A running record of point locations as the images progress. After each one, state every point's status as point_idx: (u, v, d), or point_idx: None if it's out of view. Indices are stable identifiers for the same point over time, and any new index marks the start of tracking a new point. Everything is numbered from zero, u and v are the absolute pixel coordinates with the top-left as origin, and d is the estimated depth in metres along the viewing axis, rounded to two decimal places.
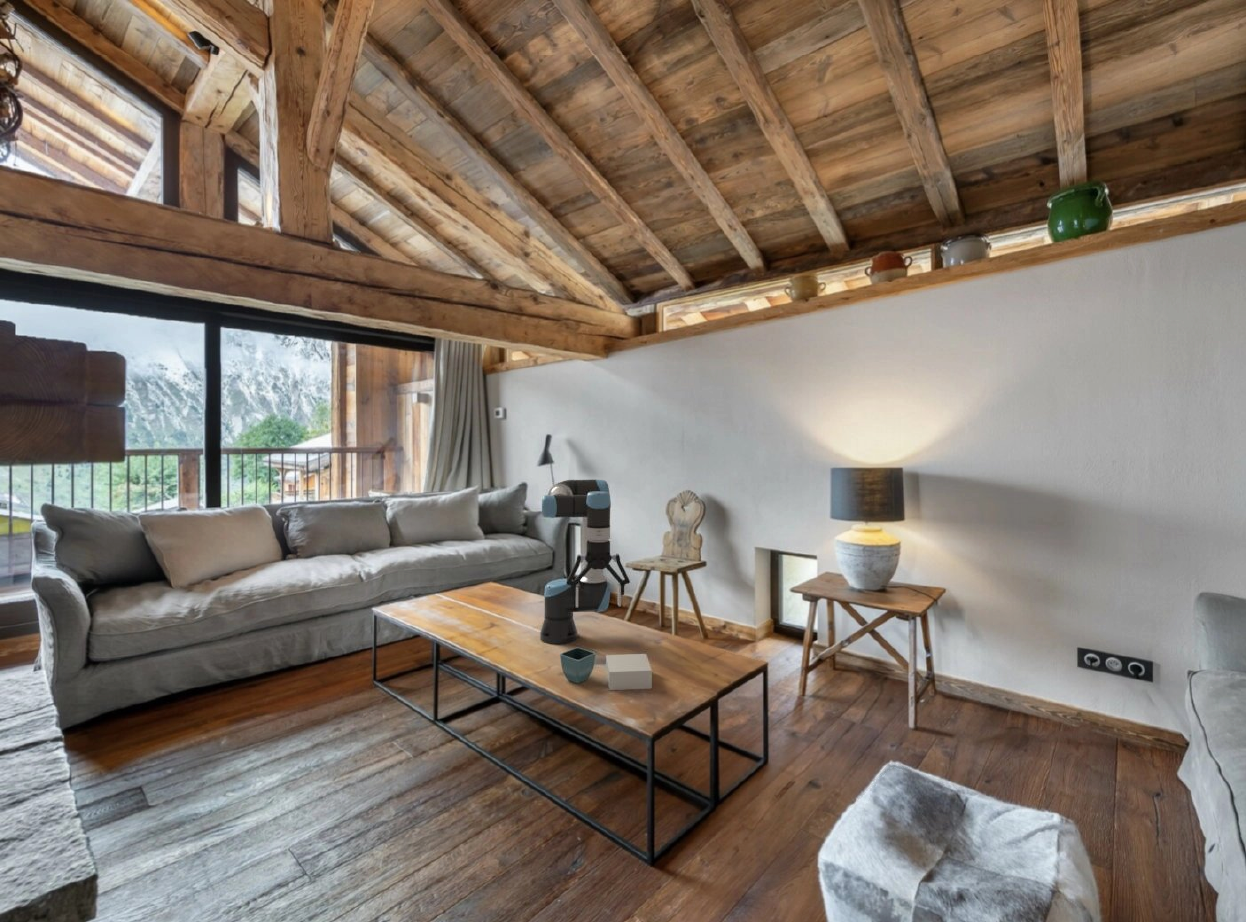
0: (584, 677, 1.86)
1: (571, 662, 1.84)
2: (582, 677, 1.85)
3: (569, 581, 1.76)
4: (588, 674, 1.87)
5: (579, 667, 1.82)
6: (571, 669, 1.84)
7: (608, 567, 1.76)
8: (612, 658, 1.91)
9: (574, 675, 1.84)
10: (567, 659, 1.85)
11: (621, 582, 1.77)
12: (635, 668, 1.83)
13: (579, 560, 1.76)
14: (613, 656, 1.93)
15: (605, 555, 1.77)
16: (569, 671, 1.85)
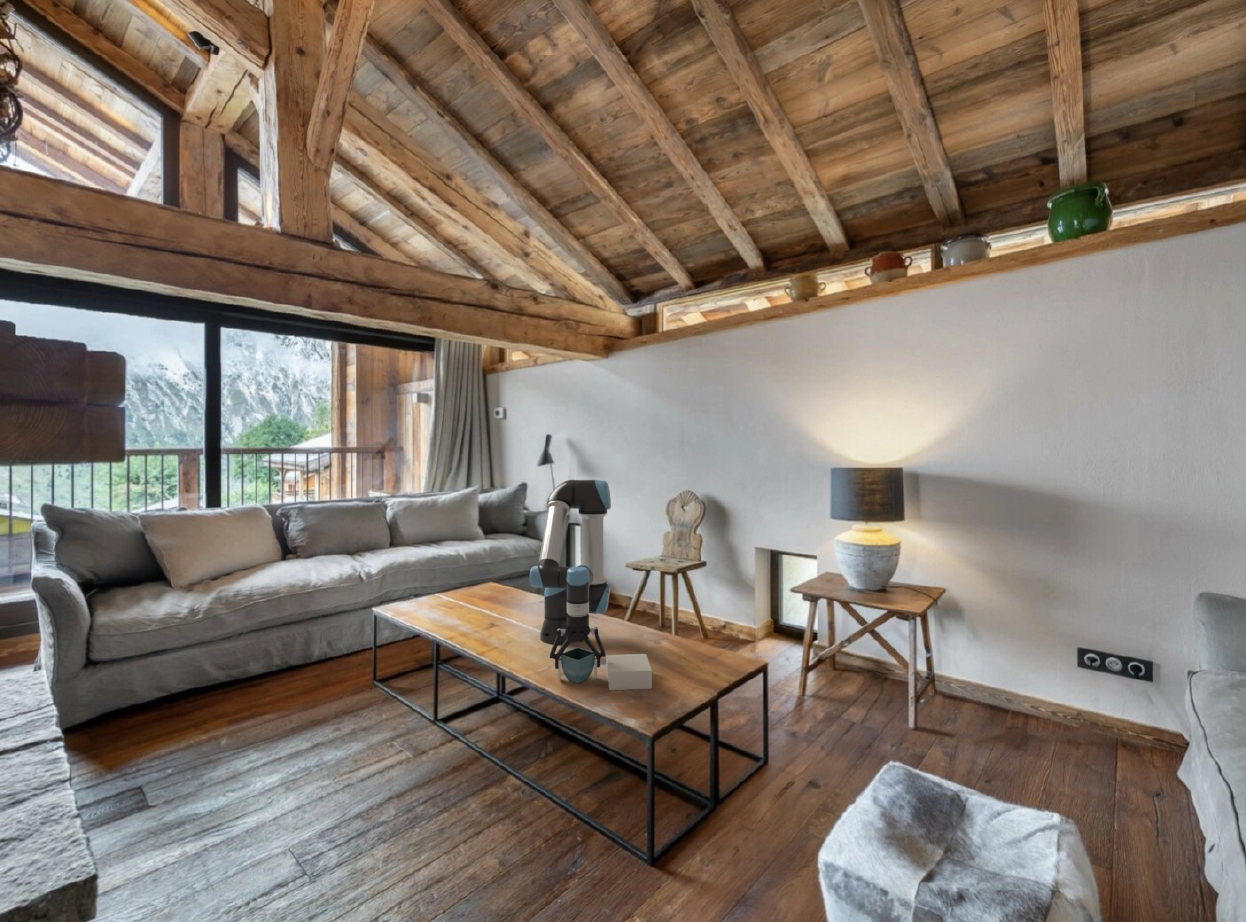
0: (584, 677, 1.86)
1: (571, 662, 1.84)
2: (582, 677, 1.85)
3: (552, 655, 1.85)
4: (588, 674, 1.87)
5: (579, 667, 1.82)
6: (571, 669, 1.84)
7: (586, 640, 1.86)
8: (612, 658, 1.91)
9: (574, 675, 1.84)
10: (567, 659, 1.85)
11: (597, 655, 1.87)
12: (635, 668, 1.83)
13: (559, 634, 1.85)
14: (613, 656, 1.93)
15: (584, 628, 1.86)
16: (569, 671, 1.85)
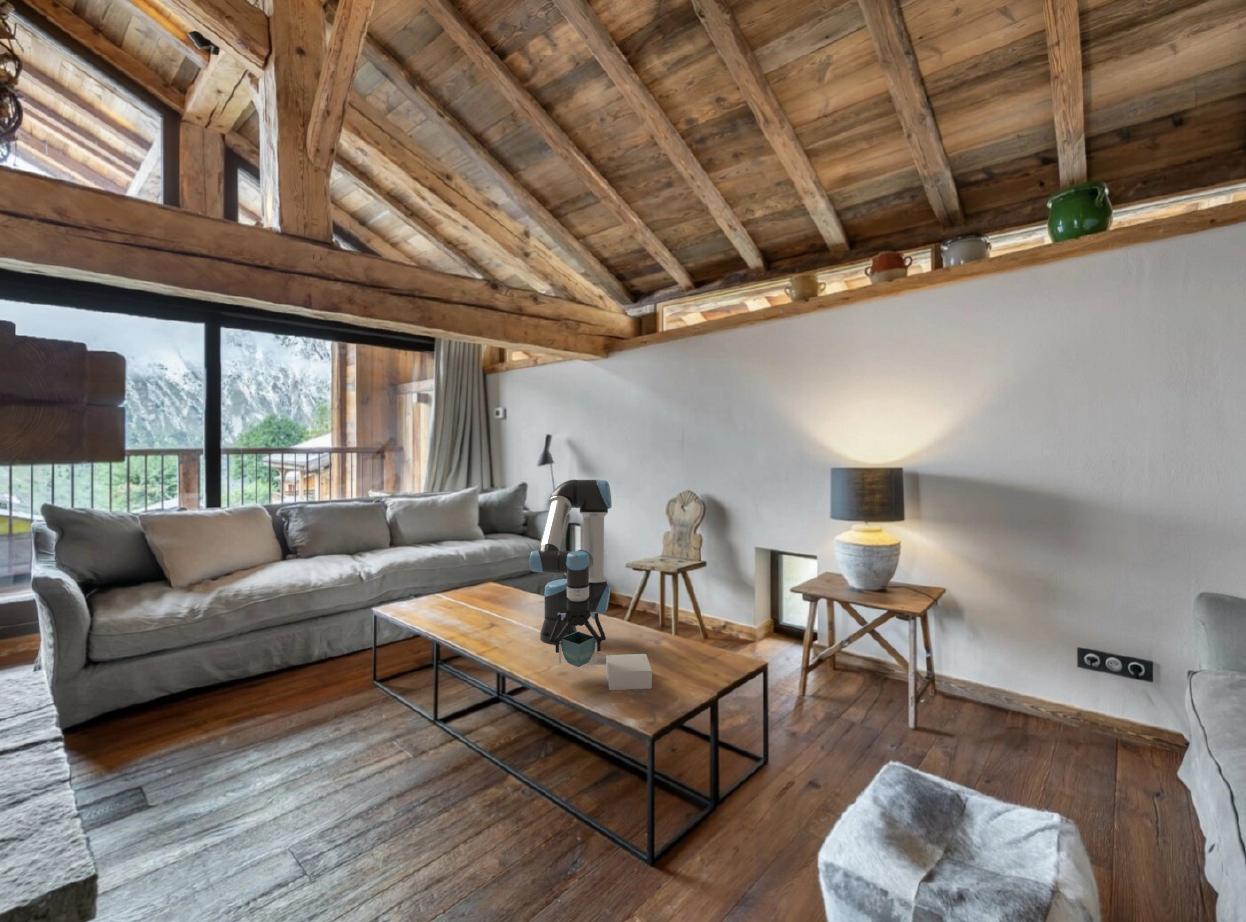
0: (585, 661, 1.86)
1: (572, 646, 1.84)
2: (583, 661, 1.85)
3: (552, 639, 1.86)
4: (589, 658, 1.87)
5: (580, 651, 1.83)
6: (572, 653, 1.84)
7: (586, 624, 1.86)
8: (612, 658, 1.91)
9: (574, 659, 1.84)
10: (567, 643, 1.85)
11: (597, 639, 1.87)
12: (635, 668, 1.83)
13: (560, 618, 1.85)
14: (613, 656, 1.93)
15: (584, 612, 1.86)
16: (570, 655, 1.85)
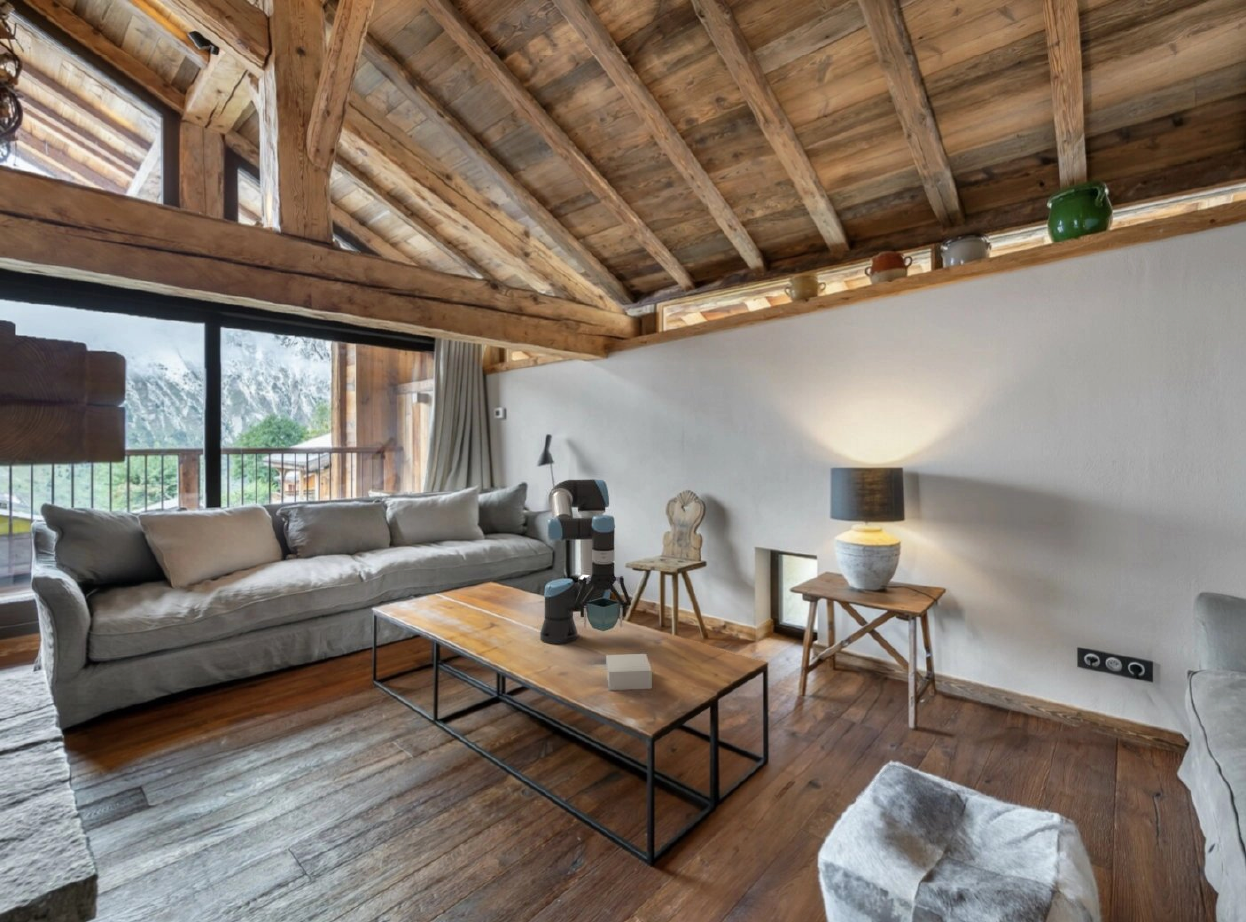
0: (610, 625, 1.84)
1: (596, 609, 1.82)
2: (608, 625, 1.83)
3: (577, 602, 1.85)
4: (614, 623, 1.85)
5: (605, 615, 1.81)
6: (596, 617, 1.83)
7: (612, 588, 1.85)
8: (612, 658, 1.91)
9: (599, 623, 1.82)
10: (592, 607, 1.84)
11: (623, 604, 1.85)
12: (635, 668, 1.83)
13: (585, 582, 1.84)
14: (613, 656, 1.93)
15: (610, 576, 1.85)
16: (594, 619, 1.84)
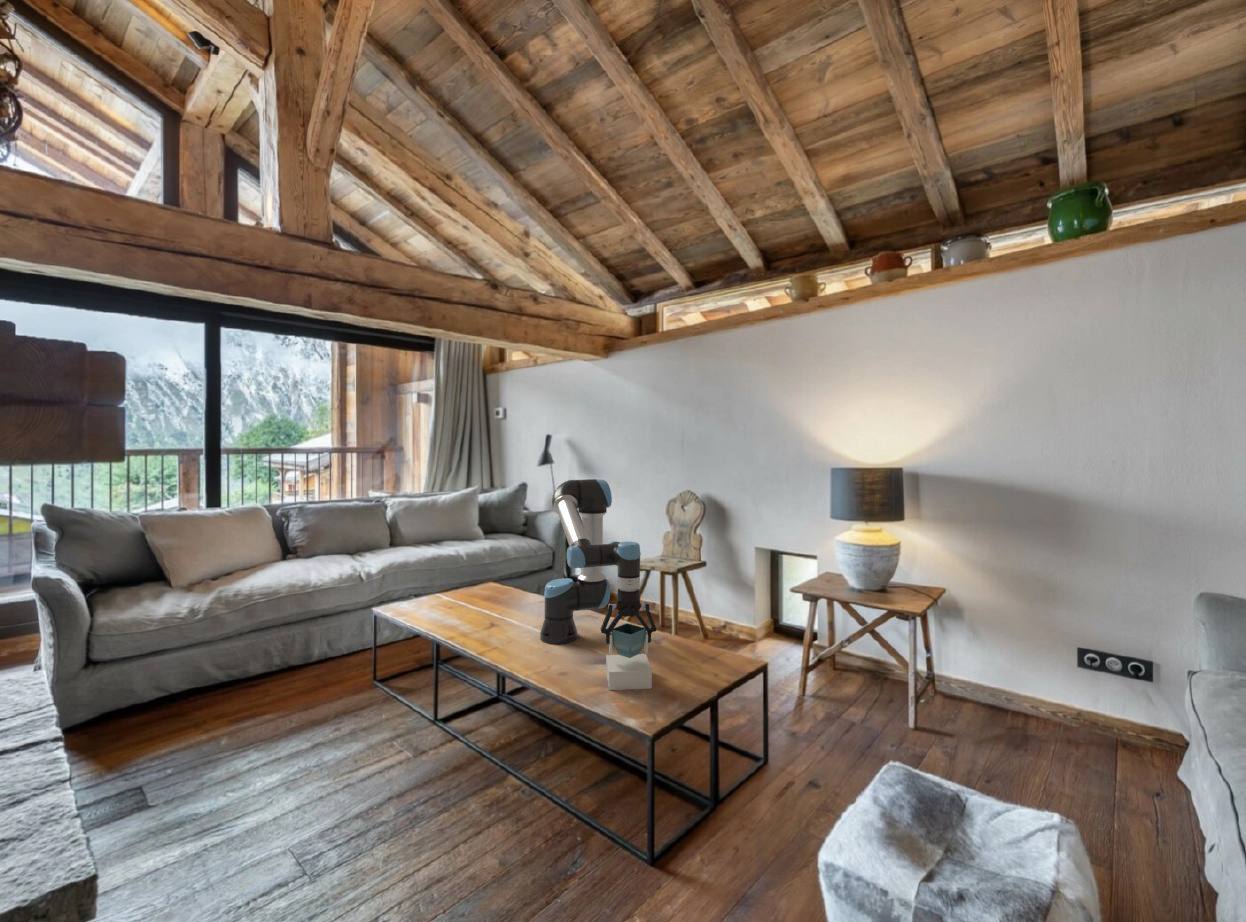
0: (636, 652, 1.85)
1: (623, 637, 1.83)
2: (634, 652, 1.84)
3: (603, 630, 1.85)
4: (639, 649, 1.86)
5: (632, 642, 1.82)
6: (623, 644, 1.83)
7: (637, 615, 1.85)
8: (612, 658, 1.91)
9: (626, 650, 1.83)
10: (619, 634, 1.84)
11: (648, 630, 1.86)
12: (635, 668, 1.83)
13: (611, 609, 1.85)
14: (613, 656, 1.93)
15: (635, 603, 1.86)
16: (621, 646, 1.84)
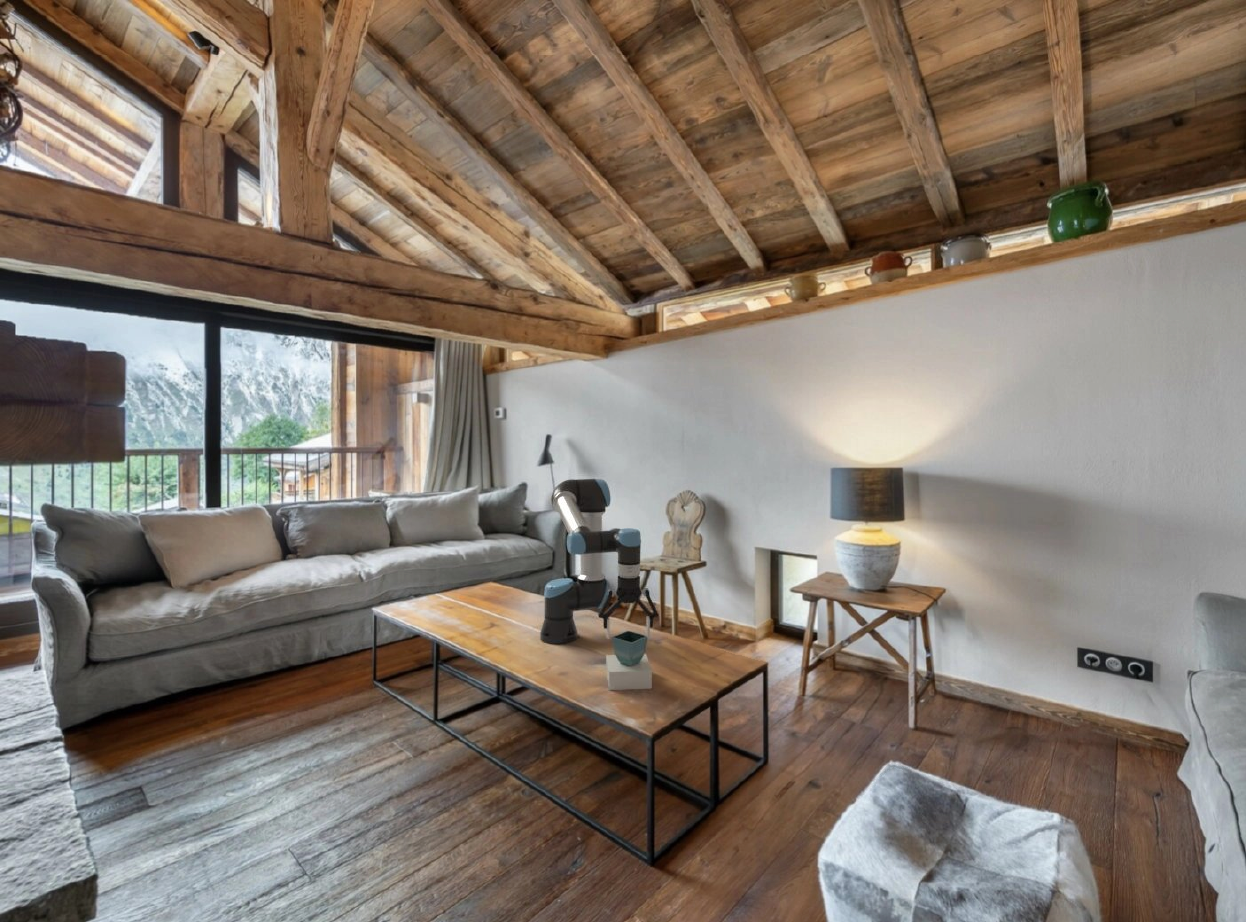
0: (637, 660, 1.85)
1: (624, 645, 1.83)
2: (635, 660, 1.84)
3: (601, 614, 1.85)
4: (640, 657, 1.87)
5: (633, 650, 1.82)
6: (624, 652, 1.84)
7: (638, 601, 1.85)
8: (612, 658, 1.91)
9: (627, 658, 1.83)
10: (620, 642, 1.84)
11: (650, 615, 1.87)
12: (635, 668, 1.83)
13: (611, 594, 1.85)
14: (613, 656, 1.93)
15: (635, 590, 1.86)
16: (622, 654, 1.84)
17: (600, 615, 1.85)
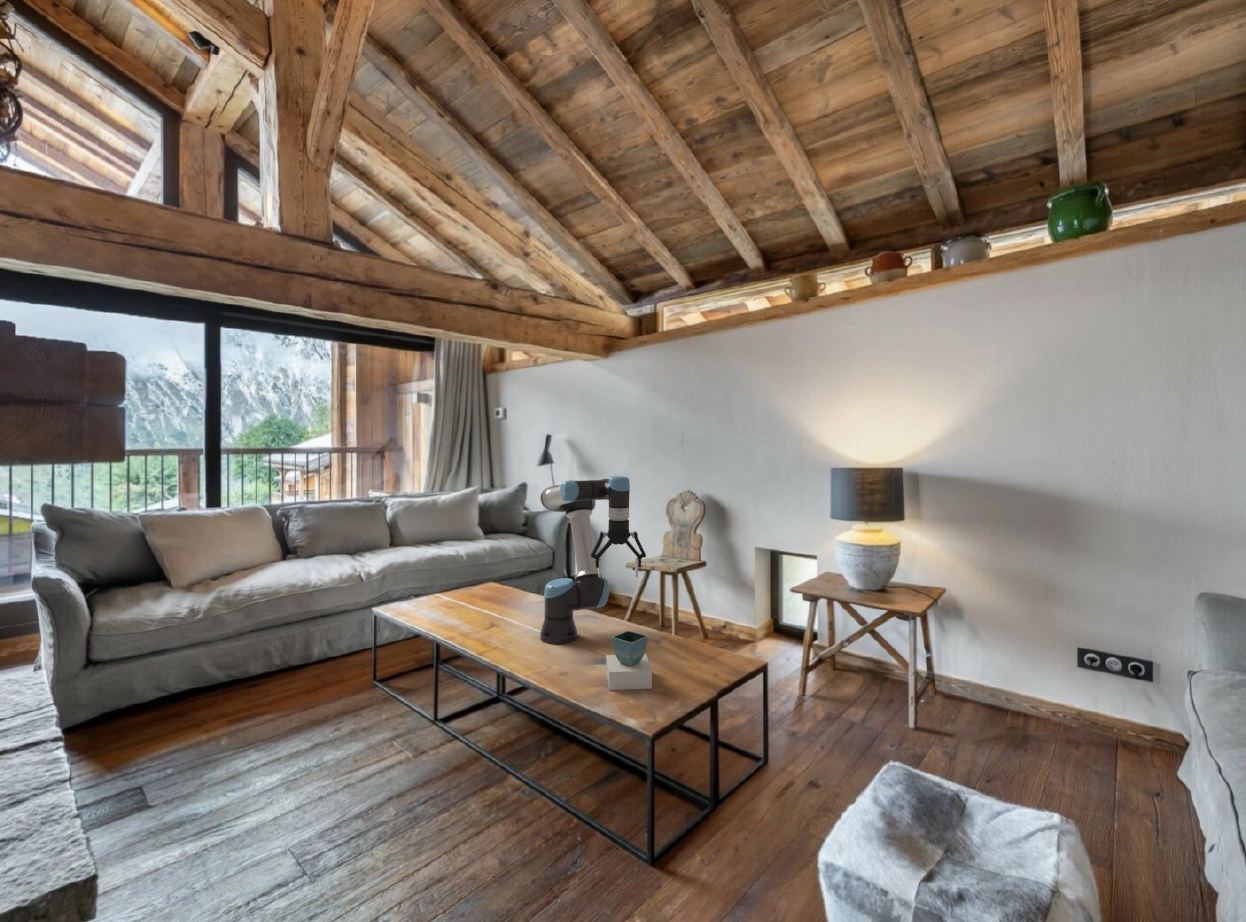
0: (637, 660, 1.85)
1: (624, 645, 1.83)
2: (635, 660, 1.84)
3: (593, 554, 2.01)
4: (640, 657, 1.87)
5: (633, 650, 1.82)
6: (624, 652, 1.84)
7: (627, 542, 2.01)
8: (612, 658, 1.91)
9: (627, 658, 1.83)
10: (620, 642, 1.84)
11: (638, 556, 2.02)
12: (635, 668, 1.83)
13: (602, 536, 2.01)
14: (613, 656, 1.93)
15: (625, 532, 2.02)
16: (622, 654, 1.84)
17: (592, 555, 2.01)
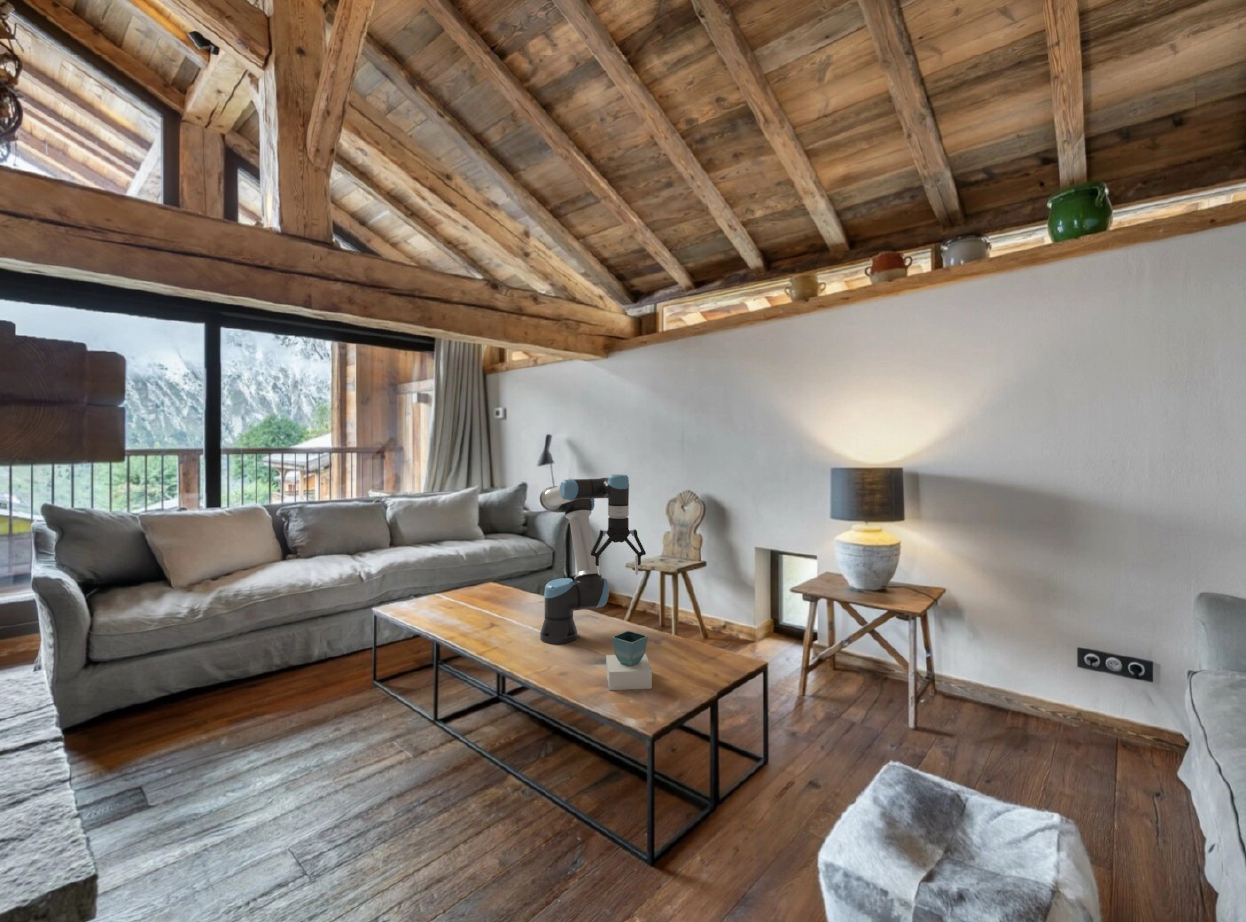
0: (637, 660, 1.85)
1: (624, 645, 1.83)
2: (635, 660, 1.84)
3: (593, 552, 2.01)
4: (640, 657, 1.87)
5: (633, 650, 1.82)
6: (624, 652, 1.84)
7: (627, 540, 2.02)
8: (612, 658, 1.91)
9: (627, 658, 1.83)
10: (620, 642, 1.84)
11: (638, 553, 2.03)
12: (635, 668, 1.83)
13: (602, 534, 2.02)
14: (613, 656, 1.93)
15: (624, 530, 2.02)
16: (622, 654, 1.84)
17: (592, 553, 2.01)
